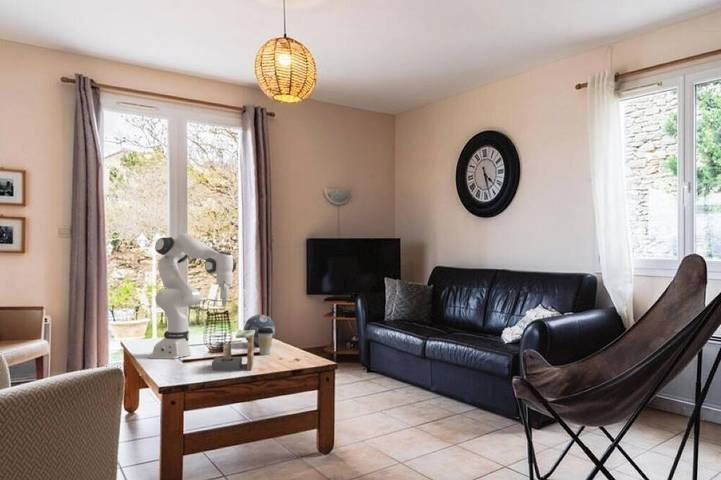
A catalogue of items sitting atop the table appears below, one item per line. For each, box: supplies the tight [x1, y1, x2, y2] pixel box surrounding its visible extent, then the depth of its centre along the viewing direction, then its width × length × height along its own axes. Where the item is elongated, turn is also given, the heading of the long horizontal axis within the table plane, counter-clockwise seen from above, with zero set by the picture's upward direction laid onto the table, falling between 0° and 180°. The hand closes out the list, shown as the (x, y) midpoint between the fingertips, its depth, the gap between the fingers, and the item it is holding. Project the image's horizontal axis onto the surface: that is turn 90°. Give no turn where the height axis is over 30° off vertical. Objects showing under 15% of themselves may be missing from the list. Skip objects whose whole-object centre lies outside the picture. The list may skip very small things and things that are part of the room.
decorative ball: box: [243, 314, 276, 347], centre depth 315 cm, size 20×20×20 cm
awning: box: [235, 329, 255, 371], centre depth 260 cm, size 8×16×18 cm, turn 8°
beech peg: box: [222, 343, 232, 361], centre depth 259 cm, size 4×4×12 cm
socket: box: [211, 356, 243, 371], centre depth 259 cm, size 14×12×4 cm
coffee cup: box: [257, 328, 273, 356], centre depth 291 cm, size 9×9×15 cm
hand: (224, 305), depth 272 cm, fingers open, 8 cm apart
